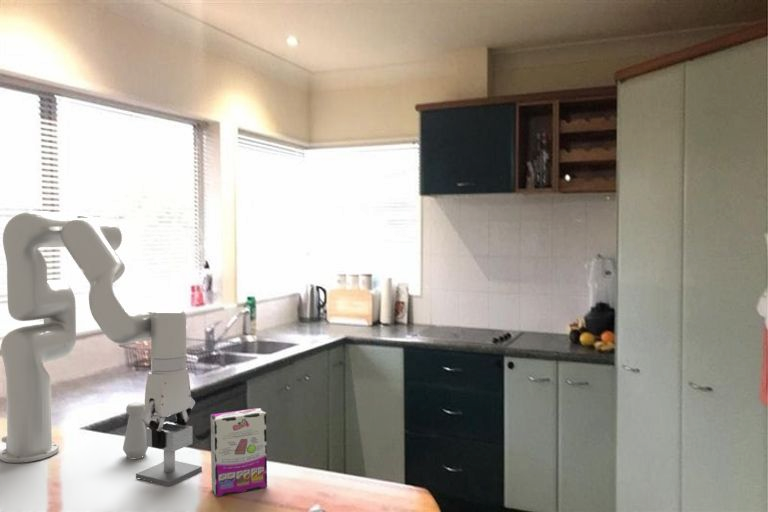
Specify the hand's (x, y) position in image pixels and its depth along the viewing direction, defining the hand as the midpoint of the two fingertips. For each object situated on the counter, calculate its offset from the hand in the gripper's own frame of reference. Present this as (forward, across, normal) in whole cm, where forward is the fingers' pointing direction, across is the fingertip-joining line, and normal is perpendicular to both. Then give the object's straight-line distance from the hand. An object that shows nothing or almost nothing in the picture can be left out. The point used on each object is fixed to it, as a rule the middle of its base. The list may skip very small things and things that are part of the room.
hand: (169, 442), depth 141 cm
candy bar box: (+8, -1, +19) cm, 21 cm away
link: (+1, 0, 0) cm, 1 cm away
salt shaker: (+8, -5, -16) cm, 18 cm away
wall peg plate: (+7, 0, 0) cm, 7 cm away
